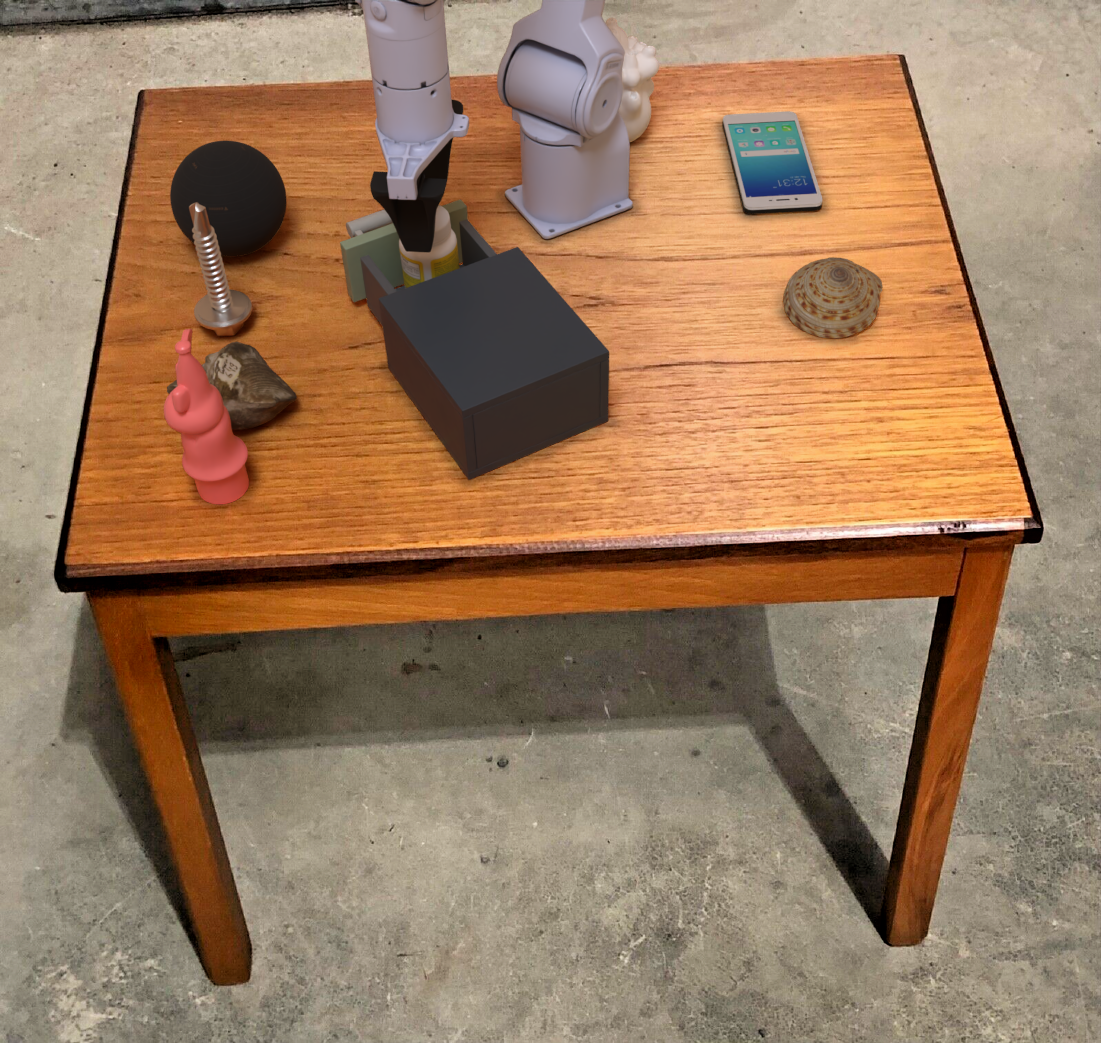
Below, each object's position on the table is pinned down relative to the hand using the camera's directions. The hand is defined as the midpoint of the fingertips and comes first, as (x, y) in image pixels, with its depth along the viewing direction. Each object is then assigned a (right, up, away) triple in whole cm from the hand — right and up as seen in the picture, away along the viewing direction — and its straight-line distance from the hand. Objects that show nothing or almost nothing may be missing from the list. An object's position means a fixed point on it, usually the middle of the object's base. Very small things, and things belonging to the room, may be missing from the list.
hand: (425, 219), depth 115 cm
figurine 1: (-15, -22, -4) cm, 27 cm away
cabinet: (+6, -14, +2) cm, 15 cm away
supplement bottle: (0, -5, +7) cm, 9 cm away
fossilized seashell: (-15, -15, +1) cm, 22 cm away
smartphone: (+31, +9, +21) cm, 39 cm away
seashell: (+34, -6, +8) cm, 36 cm away
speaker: (-18, +1, +15) cm, 24 cm away
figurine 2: (+17, +13, +24) cm, 32 cm away
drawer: (0, -6, +8) cm, 10 cm away
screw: (-18, -8, +8) cm, 21 cm away
